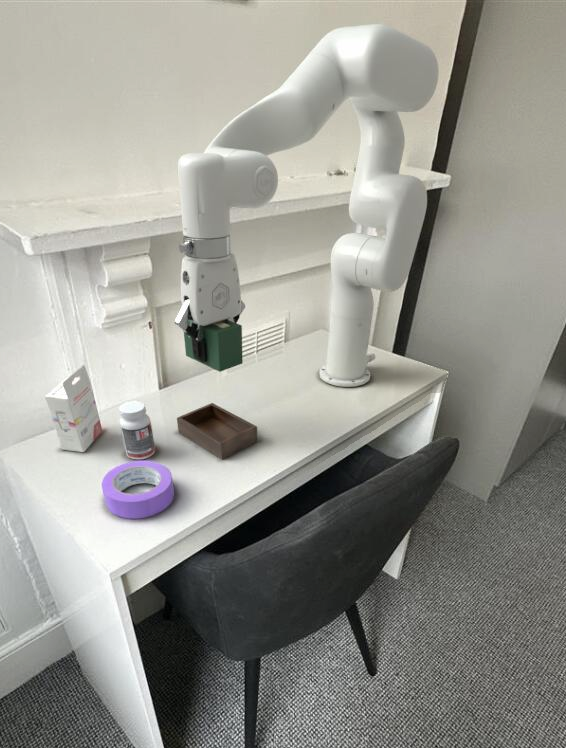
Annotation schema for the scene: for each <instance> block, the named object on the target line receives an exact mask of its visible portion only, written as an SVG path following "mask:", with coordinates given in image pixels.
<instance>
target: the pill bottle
mask: <svg viewBox="0 0 566 748" xmlns="http://www.w3.org/2000/svg"><path fill="white" fill-rule="evenodd" d="M118 409H119V414H120V416H121V417H120V419H119V421H118V422H119V423H118V424H119V429H120V433H121V437H122V442H123V446H124V451H125V454H126V456H127V458H129V459H133V460H136V461H141V460H144V459H149V458H150V457H152V456H153V455H154V454H155V452H156V444H155V439H154V433H153V428H152V427H153V426H152V422H151V418H150V416H149V414H147V409H146V404H145V403H144V402H142V401H139V400H129V401H125V402H124V403H122V404H120V406H119V408H118Z"/></svg>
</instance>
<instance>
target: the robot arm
mask: <svg viewBox="0 0 566 748" xmlns="http://www.w3.org/2000/svg"><path fill="white" fill-rule="evenodd" d="M438 63H439V62H438V59H437V56H436V53H435V52H434V51H433V49H432V48H431V46H429V45H427V44H426V43H424V42H422V41H421V40H418V39H416V38H414V37H412V36H411V35H409V34H407V33H404V32H403V31H400V30H398V29H396V28H394V27H391V26H389V25H385V24H382V23H371V24H361V25H352V26H342V27H337V28H334V29H332V30H331V31H329V32H328V33H326V34H325V35H324V36H323V37H322V38H321V39H320V40H319V41H318V42H317V44H315V46H314V47H313V49H312V50H311V51H310V52H309V53H308V54H307V55H306V57H305V58H304V59H303V60H302V62H301V63H300V64H299V65H298V66H297V67H296V69H294V71H293V72H292V73H291V74H290V75H289V76H288V78H287V79H286V80H285V81H284V82H283V84H282V85H280V87H278V88H277V89H276V90H275V91H273V92H271V93H269V94H268V95H266V96H264V97H263V98H262V99H260V100H259V101H257V102H256V103H254V104H253V105H252V106H250V107H249V108H247V109H245V110H243V112H241V113H239V114H238V115H237V116H235V117H234V118H233V119H232V120H230V121H229V122H228V123H227V124H226V125H225V126H224V127H223V128H222V129H220V131H218V133H217V135H216V136H215V137H213V140H211V142H210V143H209V144H208V145H207V146H206V148H205V150H204V151H203V152H190V153H185V154H182V155H181V156H180V157H179V159H178V161H177V179H178V190H179V201H180V212H181V227H182V241H183V242H182V243H179V245H178V250H179V252H180V254H184V257H182V260H181V270H180V301H181V308H180V310H179V312H178V313H177V316H176V317H175V319H174V326H176V327H177V328H178V329H180V330H181V331H183V333H184V332H185V333H186V334H187V335H188V336H189V337H190V338H192V349H193V355H194V358H195V359H197V360H199V361H201V362H203V363H204V362H207V351H206V341H205V340H203V335H204V330H205V325H209V324H212V323H216V322H219V321H223V320H229V321H232V322H234V323H237V324H238V322H239V320H240V317H241V315H242V313H243V312H244V310H245V309H246V303H244V301H243V300H242V295H241V283H240V274H239V269H238V268H239V267H238V264H237V259H236V256H235V253H232V249H231V248H232V247H231V217H230V216H231V214H230V209H232V208H239V209H258V208H262V207H264V206H265V205H267V204H269V202H271V200H272V199H273V198H274V196H275V195H276V193H277V190H278V185H279V174H278V170H277V167H276V165H275V163H274V162H273V161H272V159H271V158H270V157H269V156H270V155H273V154H275V153H279V152H282V151H286V150H287V151H288V150H290V149H293V148H297V147H299V146H301V145H304V144H305V143H308V142H310V141H311V140H313V139H314V138H315V137H316V135H317V134H318V133H319V132H320V131H321V129H322V128H323V127H324V126H325V125H326V123H327V122H328V121H329V120H330V119H331V117H332V116H333V115H334V114H336V113H335V112H336V111H338V109H339V108H340V107H341V106H342V104H343V103H344V102H345V101H346V100H347V99H349V101H350V104H351V106H352V108H353V111H354V114H355V116H356V119H357V123H358V127H359V134H360V143H359V144H360V145H359V149H358V157H357V161H356V166H355V170H354V176H353V180H352V186H351V191H350V196H349V202H348V215H349V218H350V220H352V222H353V223H355V224H358V225H360V226H363V227H367V228H372V229H376V230H382V231H386V235H385V237H380V236H377V235H372V234H367V233H361V232H349V233H346V234H344V235H342V236H341V237H339V238H338V239H337V240H336V242H334V245H333V247H332V249H331V253H330V273H331V287H332V289H331V293H332V294H331V295H332V296H331V306H330V309H331V310H330V319H329V329H328V339H327V340H328V341H327V351H326V352H327V353H326V364H324V365H323V366H321V368H319V372H318V373H319V378H320V379H321V380H322V381H323V382H325V383H327V384H329V385H332V386H336V387H342V388H354V387H359V386H362V385H365V384H366V383H368V382H369V381H370V379H371V371H370V370H369V369H368V368H367V365H368V364H369V363H370V362H373V361H374V360H376V354H375V353H374V352H370V353H368V348H369V342H370V335H371V326H372V319H373V315H374V305H375V304H374V295H373V291H372V289H373V290H377V291H381V292H384V293H385V292H386V293H392V292H395V291H397V290H399V289H400V288H401V287H403V285H404V283H405V282H406V280H407V278H408V275H409V273H410V271H411V267H412V264H413V261H414V257H415V254H416V250H417V247H418V242H419V240H420V235H421V232H422V228H423V224H424V221H425V216H426V212H427V207H428V191H427V188H426V185H425V184H424V182H423V180H421V179H420V178H419V177H417V176H415V175H410V174H403V173H402V174H401V173H400V170H401V164H402V159H403V155H404V150H405V143H406V142H405V140H406V139H405V138H406V137H405V131H404V127H403V124H402V121H401V118H400V115H399V112H400V113H415V112H417V111H420V110H421V109H424V108H425V107H426V106H427V105H428V103H429V102H430V101H431V99H432V98H433V96H434V94H435V91H436V89H437V86H438V80H439V64H438ZM187 320H190V326H189V325H188V324H187ZM197 325H198V328H197ZM196 328H197V331H196Z"/></svg>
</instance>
